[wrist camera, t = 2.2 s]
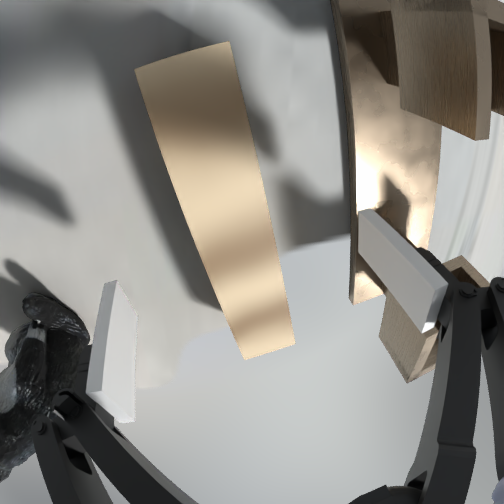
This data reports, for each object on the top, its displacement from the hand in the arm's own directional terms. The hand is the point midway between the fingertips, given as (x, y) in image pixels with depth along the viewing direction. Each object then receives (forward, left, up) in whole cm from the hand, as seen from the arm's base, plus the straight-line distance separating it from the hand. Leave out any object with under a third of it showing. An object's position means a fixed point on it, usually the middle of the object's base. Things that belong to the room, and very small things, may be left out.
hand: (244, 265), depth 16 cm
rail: (0, 0, -6) cm, 6 cm away
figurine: (+5, -17, -6) cm, 19 cm away
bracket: (0, +13, -6) cm, 14 cm away
